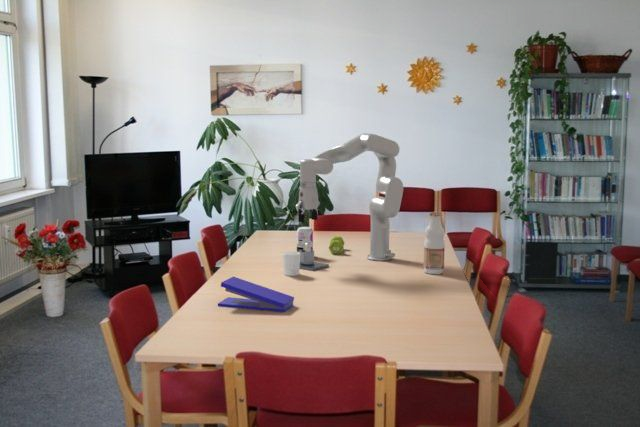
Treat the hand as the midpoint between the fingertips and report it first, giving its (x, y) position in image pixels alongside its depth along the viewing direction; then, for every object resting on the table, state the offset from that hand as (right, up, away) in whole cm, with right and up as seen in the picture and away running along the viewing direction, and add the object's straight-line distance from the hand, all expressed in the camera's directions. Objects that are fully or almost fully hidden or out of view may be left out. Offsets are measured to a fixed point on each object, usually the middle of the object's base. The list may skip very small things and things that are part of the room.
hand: (307, 220), depth 352 cm
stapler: (-19, -33, -67) cm, 77 cm away
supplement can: (-2, -19, +26) cm, 32 cm away
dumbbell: (+15, -17, +40) cm, 46 cm away
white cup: (-7, -25, -14) cm, 29 cm away
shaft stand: (0, -22, +3) cm, 22 cm away
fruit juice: (+59, -24, -8) cm, 64 cm away
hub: (-1, -20, +3) cm, 20 cm away
